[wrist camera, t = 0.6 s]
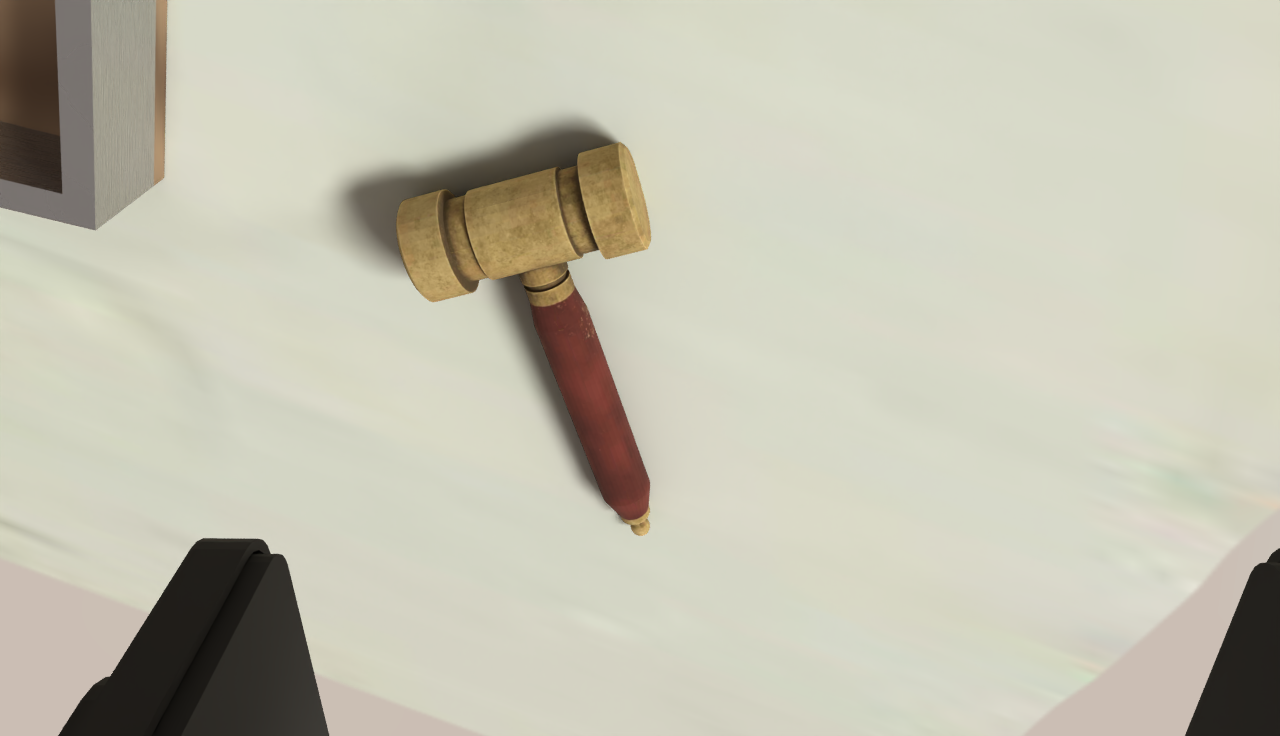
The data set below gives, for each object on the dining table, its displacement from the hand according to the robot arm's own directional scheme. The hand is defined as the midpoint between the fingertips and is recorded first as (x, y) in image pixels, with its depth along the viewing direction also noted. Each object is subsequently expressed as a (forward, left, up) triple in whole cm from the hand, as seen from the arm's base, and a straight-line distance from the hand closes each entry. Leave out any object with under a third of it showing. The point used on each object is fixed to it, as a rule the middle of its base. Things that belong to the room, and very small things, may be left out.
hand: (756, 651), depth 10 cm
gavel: (+17, 0, -35) cm, 38 cm away
